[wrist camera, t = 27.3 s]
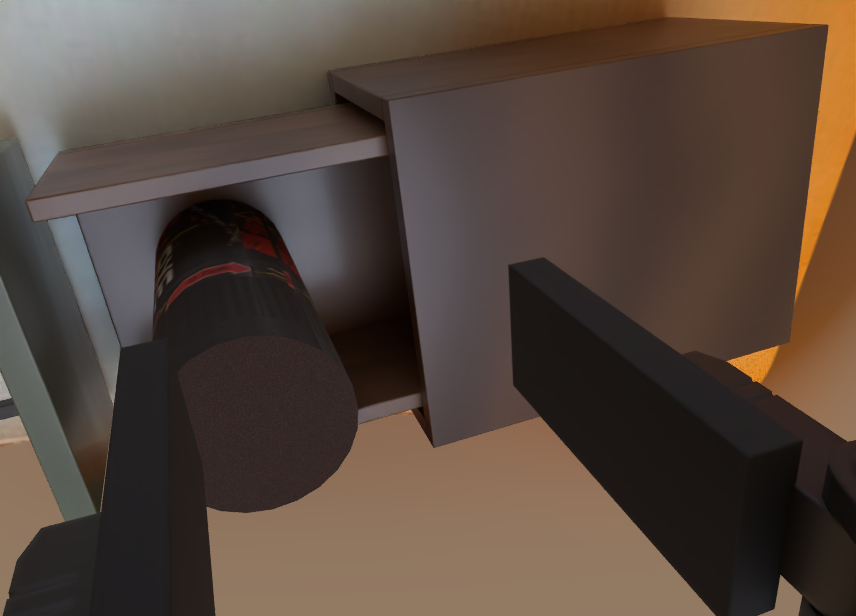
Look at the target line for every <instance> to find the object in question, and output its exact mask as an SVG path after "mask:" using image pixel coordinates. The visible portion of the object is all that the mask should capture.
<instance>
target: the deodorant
mask: <svg viewBox="0 0 856 616" xmlns="http://www.w3.org/2000/svg"><path fill="white" fill-rule="evenodd" d="M165 338H168V341H169V345H170V349H171V352H172V356H173V359H174V363H175V367H176V370H177V374H178V378H179V381H180V385H181V388H182V392H183V396H184V399H185V403H186V407H187V410H188V414H189V417H190V421H191V425H192V428H193V432H194V436H195V439H196V443H197V446H198V450H199V454H200V457H201V461H202V465H203V472H204V485H205V497H206V507H210V508H213V509H216V510H220V511H228V512H242V513H249V512H256V511H263V510H271V509H274V508H277V507H280V506H283V505H286V504H289V503H291V502H294V501H297V500H299V499H300V498H302V497H304V496H305V495H307V494H308V493H310V492H312V491H314V490H315V489H317V488H319V487H320V486H321V485H322V484H323V483H324V482H325V481H326V480H327V479H328V478H329V477H330V476H332V475H333V474H334V473H335V472H336V471H337V470H338V468H339V467H340V465H341V464H342V462H343V461H344V459H345V458H346V456H347V455H348V453H349V451H350V449H351V446H352V443H353V440H354V438H355V435H356V432H357V428H358V403H357V399H356V396H355V392H354V388H353V385H352V383H351V381H350V379H349V376H348V374H347V372H346V370H345V368H344V366H343V364H342V362H341V360H340V358H339V355H338V353H337V351H336V349H335V347H334V345H333V343H332V341H331V339H330V337H329V335H328V332H327V330H326V328H325V326H324V324H323V322H322V320H321V318H320V316H319V314H318V311H317V309H316V307H315V305H314V303H313V301H312V299H311V297H310V295H309V293H308V290H307V288H306V286H305V284H304V282H303V280H302V278H301V276H300V274H299V272H298V270H297V267H296V265H295V263H294V261H293V259H292V257H291V255H290V253H289V251H288V249H287V246H286V244H285V242H284V240H283V238H282V236H281V234H280V233H279V231H278V230H277V228H276V226H275V225H274V223H273V222H272V221H271V220H270V219H269V218H267V217H266V216H265V215H264V214H263V213H262V212H261V211H259V210H257V209H255V208H253V207H251V206H250V205H248V204H245V203H241V202H237V201H233V200H209V201H205V202H201V203H198V204H194V205H193V206H191V207H189V208H187V209H185V210H184V211H182V212H180V213H179V214H178V215H177V216H176V217H175V218H174V219H173V220H172V221H171V222H170V223H169V224H168V225H167V226H166V228H165V230H164V232H163V233H162V235H161V237H160V239H159V242H158V247H157V251H156V258H155V284H154V309H153V334H152V341H155V340H160V339H165Z"/></svg>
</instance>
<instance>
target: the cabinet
mask: <svg viewBox="0 0 856 616" xmlns="http://www.w3.org/2000/svg"><path fill="white" fill-rule="evenodd" d="M827 34H828V25H823V24H800V23H779V22H758V21H738V20H717V19H696V18H675V17H666V18H659V19H653V20H646V21H640V22H634V23H627V24H621V25H615V26H608V27H602V28H596V29H589V30H583V31H576V32H570V33H564V34H557V35H551V36H545V37H538V38H532V39H526V40H519V41H513V42H506V43H500V44H494V45H487V46H481V47H475V48H468V49H462V50H456V51H449V52H443V53H436V54H430V55H424V56H417V57H411V58H405V59H398V60H392V61H386V62H379V63H373V64H366V65H360V66H354V67H347V68H341V69H335V70H329V71H328V72H327V73H328V79H329V85H330V91H331V97H332V103H333V105H337V104H343V103H349V102H353V103H354V104H356V105H358V106H359V107H361V108H363V109H364V110H366V111H368V112H370V113H371V114H373V115H375V116H376V117H378V118H380V119H381V120H383V121H384V122H385V129H386V136H387V144H388V151H389V159H390V166H391V173H392V181H393V188H394V195H395V203H396V210H397V217H398V225H399V232H400V240H401V247H402V254H403V262H404V269H405V276H406V284H407V291H408V298H409V306H410V313H411V320H412V328H413V335H414V343H415V350H416V357H417V365H418V372H419V379H420V387H421V394H422V401H423V406H422V407H419V408H415V409H412V412H413V413H414V415H415V417H416V419H417V420H418V422H419V423H420V425H421V427H422V429H423V430H424V432H425V434H426V436H427V437H428V439H429V441H430V442H431V444H432V446H433V447H434V448H435V447H439V446H442V445H446V444H449V443H452V442H456V441H459V440H462V439H466V438H469V437H473V436H476V435H479V434H482V433H485V432H489V431H493V430H496V429H499V428H503V427H506V426H509V425H513V424H516V423H520V422H523V421H526V420H529V419H533V418H536V417H540V415H539V414H538V413H537V412H536V411H535V410H534V408H533V407H532V406H531V405H530V404H529V403H528V402H527V400H526V399H525V398H524V397H523V396H522V395H521V394H520V392H519V391H518V390H517V389H516V388H515V387H514V386H513V370H512V345H511V321H510V296H509V271H508V265H509V264H514V263H518V262H523V261H528V260H532V259H537V258H542V257H544V258H546V259H547V260H549V261H550V262H551V263H553V264H554V265H556V266H557V267H559V268H560V269H561V270H563V271H564V272H566V273H567V274H568V275H570V276H571V277H573V278H574V279H575V280H577V281H578V282H580V283H581V284H583V285H584V286H585V287H587V288H588V289H590V290H591V291H592V292H594V293H595V294H597V295H598V296H600V297H601V298H602V299H604V300H605V301H607V302H608V303H609V304H611V305H612V306H614V307H615V308H616V309H618V310H619V311H621V312H622V313H624V314H625V315H626V316H628V317H629V318H631V319H632V320H633V321H635V322H636V323H638V324H639V325H640V326H642V327H643V328H645V329H646V330H648V331H649V332H650V333H652V334H653V335H655V336H656V337H657V338H659V339H660V340H662V341H663V342H665V343H666V344H667V345H669V346H670V347H672V348H673V349H674V350H676V351H677V352H679V353H680V354H684V353H688V352H692V351H698V352H701V353H704V354H706V355H709V356H712V357H715V358H718V359H721V360H723V361H728V360H731V359H734V358H738V357H741V356H745V355H748V354H751V353H755V352H758V351H761V350H765V349H768V348H771V347H775V346H778V345H781V344H785V343H788V342H790V334H791V326H792V317H793V310H794V302H795V293H796V285H797V277H798V269H799V261H800V253H801V245H802V237H803V229H804V220H805V212H806V204H807V196H808V188H809V180H810V172H811V164H812V155H813V147H814V139H815V131H816V123H817V115H818V107H819V99H820V91H821V82H822V74H823V66H824V58H825V50H826V42H827Z"/></svg>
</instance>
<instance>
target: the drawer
mask: <svg viewBox="0 0 856 616" xmlns="http://www.w3.org/2000/svg"><path fill="white" fill-rule="evenodd" d="M209 200H233V201H237V202H241V203H245V204H248V205H250V206H251V207H253V208H255V209H257V210H259V211H261V212H262V213H263V214H264V215H265V216H266V217H267V218H269V219H270V220H271V221H272V222H273V223H274V225H275V226H276V228H277V230H278V231H279V233H280V234H281V236H282V238H283V240H284V242H285V244H286V246H287V249H288V251H289V253H290V255H291V257H292V259H293V261H294V263H295V265H296V267H297V270H298V272H299V274H300V276H301V278H302V280H303V282H304V284H305V286H306V288H307V290H308V293H309V295H310V297H311V299H312V301H313V303H314V305H315V307H316V309H317V311H318V314H319V316H320V318H321V320H322V322H323V324H324V326H325V328H326V330H327V332H328V335H329V337H330V339H331V341H332V343H333V345H334V347H335V349H336V351H337V353H338V355H339V358H340V360H341V362H342V364H343V366H344V368H345V370H346V372H347V374H348V376H349V379H350V381H351V383H352V385H353V388H354V392H355V396H356V399H357V403H358V424H362V423H365V422H369V421H373V420H376V419H379V418H383V417H387V416H390V415H394V414H397V413H401V412H405V411H408V410H412V409H415V408H419V407H422V406H423V401H422V394H421V387H420V379H419V372H418V365H417V357H416V350H415V343H414V335H413V328H412V320H411V313H410V306H409V298H408V291H407V284H406V276H405V269H404V262H403V254H402V247H401V240H400V232H399V225H398V217H397V210H396V203H395V195H394V188H393V181H392V173H391V166H390V159H389V151H388V144H387V136H386V129H385V122H384V121H383V120H381V119H380V118H378V117H376V116H375V115H373V114H371V113H370V112H368V111H366V110H364V109H363V108H361V107H359V106H358V105H356V104H354V103H353V102H349V103H343V104H337V105H331V106H325V107H319V108H313V109H307V110H302V111H296V112H290V113H284V114H278V115H272V116H266V117H260V118H254V119H248V120H242V121H237V122H231V123H225V124H219V125H213V126H207V127H201V128H195V129H189V130H183V131H178V132H172V133H166V134H160V135H154V136H148V137H142V138H136V139H130V140H124V141H118V142H113V143H107V144H101V145H95V146H89V147H83V148H77V149H71V150H65V151H59V152H58V153H57V155H56V156H55V158H54V159H53V161H52V162H51V164H50V165H49V167H48V168H47V170H46V171H45V173H44V174H43V175H42V177H41V178H40V180H39V181H38V183H37V184H36V186H35V187H34V184H33V181H32V178H31V176H30V173H29V170H28V167H27V164H26V162H25V159H24V156H23V153H22V151H21V148H20V145H19V142H18V139H17V138H10V139H4V140H0V372H1V374H2V376H3V379H4V381H5V383H6V386H7V388H8V390H9V393H10V395H11V397H12V398H10V399H6V400H2V401H0V420H2V419H6V418H10V417H14V416H18V415H19V416H20V418H21V421H22V423H23V425H24V427H25V430H26V432H27V434H28V437H29V439H30V441H31V444H32V446H33V448H34V451H35V453H36V455H37V458H38V460H39V462H40V465H41V467H42V469H43V471H44V474H45V476H46V479H47V481H48V483H49V485H50V488H51V490H52V492H53V495H54V497H55V499H56V502H57V504H58V506H59V509H60V511H61V513H62V516H63V518H64V520H65V522H66V521H70V520H73V519H77V518H81V517H85V516H88V515H92V514H96V513H100V507H101V499H102V491H103V484H104V476H105V468H106V461H107V453H108V445H109V437H110V430H111V422H112V414H113V404H112V401H111V398H110V395H109V392H108V390H107V387H106V384H105V381H104V378H103V376H102V373H101V370H100V367H99V365H98V362H97V359H96V356H95V353H94V351H93V348H92V345H91V342H90V340H89V337H88V334H87V331H86V328H85V326H84V323H83V320H82V317H81V315H80V312H79V309H78V306H77V303H76V301H75V298H74V295H73V292H72V290H71V287H70V284H69V281H68V278H67V276H66V273H65V270H64V267H63V265H62V262H61V259H60V256H59V253H58V251H57V248H56V245H55V242H54V240H53V237H52V234H51V231H50V228H49V226H48V223H47V220H52V219H57V218H62V217H68V216H73V215H76V217H77V220H78V222H79V225H80V228H81V231H82V234H83V237H84V240H85V243H86V246H87V249H88V252H89V255H90V258H91V261H92V264H93V267H94V270H95V272H96V275H97V278H98V281H99V284H100V287H101V290H102V293H103V296H104V299H105V302H106V305H107V308H108V311H109V314H110V317H111V320H112V322H113V325H114V328H115V331H116V334H117V337H118V340H119V343H120V346H121V348H123V347H127V346H132V345H137V344H141V343H146V342H151V341H152V334H153V309H154V284H155V258H156V251H157V247H158V242H159V239H160V237H161V235H162V233H163V232H164V230H165V228H166V226H167V225H168V224H169V223H170V222H171V221H172V220H173V219H174V218H175V217H176V216H177V215H178V214H179V213H180V212H182V211H184V210H185V209H187V208H189V207H191V206H193V205H194V204H198V203H201V202H205V201H209Z"/></svg>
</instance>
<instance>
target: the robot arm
mask: <svg viewBox="0 0 856 616" xmlns="http://www.w3.org/2000/svg"><path fill="white" fill-rule="evenodd" d="M508 271H509V296H510V321H511V345H512V370H513V386H514V387H515V388H516V389H517V390H518V391H519V392H520V394H521V395H522V396H523V397H524V398H525V399H526V400H527V402H528V403H529V404H530V405H531V406H532V407H533V408H534V410H535V411H536V412H537V413H538V414H539V415H540V416H541V417H542V418H543V420H544V421H545V422H546V423H547V424H548V425H549V427H550V428H551V429H552V430H553V431H554V432H555V433H556V434H557V436H558V437H559V438H560V439H561V440H562V441H563V442H564V444H565V445H566V446H567V447H568V448H569V449H570V450H571V452H572V453H573V454H574V455H575V456H576V457H577V458H578V460H579V461H580V462H581V463H582V464H583V465H584V466H585V467H586V468H587V470H588V471H589V472H590V473H591V474H592V475H593V477H594V478H595V479H596V480H597V481H598V482H599V483H600V484H601V486H602V487H603V488H604V489H605V490H606V491H607V492H608V494H609V495H610V496H611V497H612V498H613V499H614V500H615V502H616V503H617V504H618V505H619V506H620V507H621V508H622V510H623V511H624V512H625V513H626V514H627V515H628V516H629V517H630V519H631V520H632V521H633V522H634V523H635V524H636V525H637V527H638V528H640V530H641V531H642V532H643V533H644V534H645V536H646V537H647V538H648V539H649V540H650V541H651V542H652V544H653V545H654V546H655V547H656V548H657V549H658V550H659V551H660V553H661V554H662V555H663V556H664V557H665V558H666V560H667V561H668V562H669V563H670V564H671V565H672V566H673V567H674V569H675V570H677V572H678V573H679V574H680V575H681V577H682V578H683V579H684V580H685V581H686V582H687V583H688V584H689V586H690V587H691V588H692V589H693V590H694V591H695V592H696V594H697V595H698V596H699V597H700V598H701V599H702V600H703V602H704V603H705V604H706V605H707V606H708V607H709V608H710V610H711V611H712V612H713V613H714V614H715V615H716V616H758V615H760V614H763V613H765V612H768V611H771V610H773V609H774V608H775V603H776V597H777V591H778V585H779V579H780V575H782V576H783V577H784V578H785V579H786V580H787V581H788V582H789V583H790V584H791V585H792V586H793V587H794V588H795V589H796V590H797V591H798V592H799V593H800V594H801V595H802V601H801V606H800V611H799V616H856V440H854V441H850V442H847V441H846V440H844V439H842V438H841V437H839V436H838V435H837V434H835V433H833V432H832V431H831V430H829V429H828V428H826V427H824V426H823V425H822V424H820V423H818V422H817V421H816V420H814V419H812V418H811V417H810V416H808V415H806V414H805V413H804V412H802V411H801V410H799V409H797V408H796V407H794V406H793V405H791V404H790V403H788V402H787V401H785V400H784V399H782V398H781V397H779V396H778V395H775V396H773V395H772V391H770V390H769V389H767V388H766V387H764V386H763V385H761V384H760V383H758V382H757V381H755V382H753V381H752V378H751V377H749V376H748V375H746V374H745V373H743V372H742V371H740V370H739V369H737V368H736V367H734V366H733V365H731V364H730V363H728V362H726V361H723V360H721V359H718V358H715V357H712V356H709V355H706V354H704V353H701V352H698V351H692V352H688V353H684V354H680V353H679V352H677V351H676V350H674V349H673V348H672V347H670V346H669V345H667V344H666V343H665V342H663V341H662V340H660V339H659V338H657V337H656V336H655V335H653V334H652V333H650V332H649V331H648V330H646V329H645V328H643V327H642V326H640V325H639V324H638V323H636V322H635V321H633V320H632V319H631V318H629V317H628V316H626V315H625V314H624V313H622V312H621V311H619V310H618V309H616V308H615V307H614V306H612V305H611V304H609V303H608V302H607V301H605V300H604V299H602V298H601V297H600V296H598V295H597V294H595V293H594V292H592V291H591V290H590V289H588V288H587V287H585V286H584V285H583V284H581V283H580V282H578V281H577V280H575V279H574V278H573V277H571V276H570V275H568V274H567V273H566V272H564V271H563V270H561V269H560V268H559V267H557V266H556V265H554V264H553V263H551V262H550V261H549V260H547V259H546V258H544V257H542V258H537V259H532V260H528V261H523V262H518V263H514V264H509V265H508ZM102 502H103V503H102V510H101V512H100V513H96V514H92V515H88V516H85V517H81V518H77V519H73V520H70V521H66V522H62V523H59V524H55V525H51V526H48V527H44V528H41V529H40V530H39V532H38V533H37V534H36V536H35V537H34V539H33V540H32V541H31V542H30V544H29V545H28V546H27V548H26V549H25V550H24V552H23V553H22V554H21V556H20V557H19V558H18V560H17V562H16V566H15V570H14V574H13V578H12V582H11V586H10V590H9V599H7V601H6V605H5V609H4V613H3V616H215V606H214V594H213V582H212V570H211V558H210V545H209V533H208V522H207V509H206V497H205V485H204V472H203V465H202V461H201V457H200V454H199V450H198V446H197V443H196V439H195V436H194V432H193V428H192V425H191V421H190V417H189V414H188V410H187V407H186V403H185V399H184V396H183V392H182V388H181V385H180V381H179V378H178V374H177V370H176V367H175V363H174V359H173V356H172V352H171V349H170V345H169V341H168V338H165V339H160V340H155V341H151V342H146V343H141V344H137V345H132V346H127V347H123V348H121V350H120V358H119V367H118V375H117V384H116V392H115V400H114V409H113V417H112V426H111V434H110V443H109V451H108V460H107V469H106V476H105V485H104V493H103V501H102Z"/></svg>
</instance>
